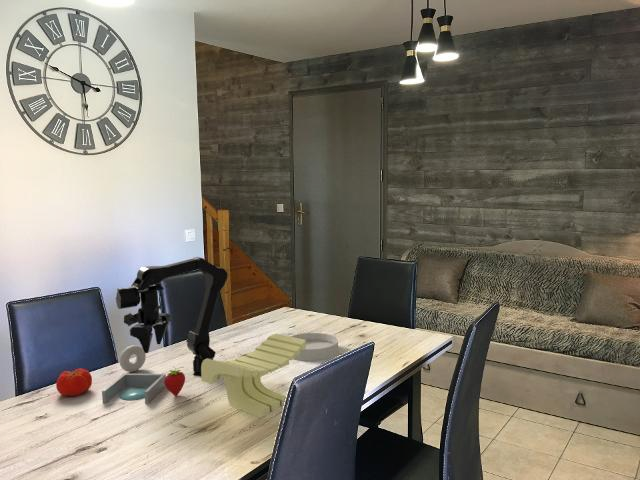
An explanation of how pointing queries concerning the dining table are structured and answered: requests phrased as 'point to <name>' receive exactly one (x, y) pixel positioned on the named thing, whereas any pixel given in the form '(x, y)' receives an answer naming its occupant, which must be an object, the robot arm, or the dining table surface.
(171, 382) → the strawberry
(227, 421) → the dining table surface
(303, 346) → the slatted curved stool
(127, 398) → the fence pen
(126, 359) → the donut
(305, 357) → the dish
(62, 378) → the tomato
